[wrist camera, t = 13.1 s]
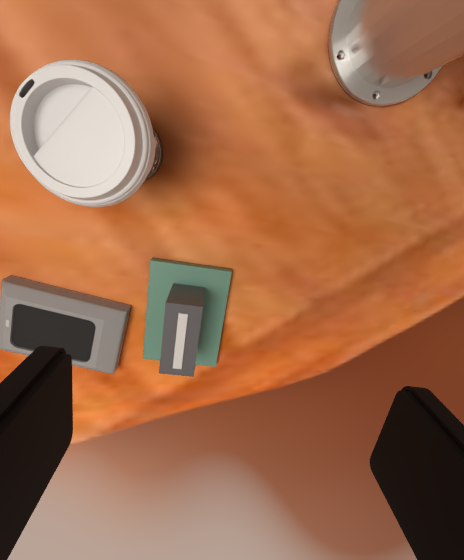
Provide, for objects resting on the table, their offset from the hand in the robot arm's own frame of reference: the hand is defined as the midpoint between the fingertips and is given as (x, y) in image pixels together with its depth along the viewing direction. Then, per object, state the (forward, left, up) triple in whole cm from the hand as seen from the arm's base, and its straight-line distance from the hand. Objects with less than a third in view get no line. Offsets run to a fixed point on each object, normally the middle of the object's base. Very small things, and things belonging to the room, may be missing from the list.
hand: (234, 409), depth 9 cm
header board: (+12, -3, -30) cm, 33 cm away
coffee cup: (-7, -11, -31) cm, 33 cm away
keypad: (+16, -18, -31) cm, 39 cm away
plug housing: (+12, -3, -29) cm, 32 cm away
